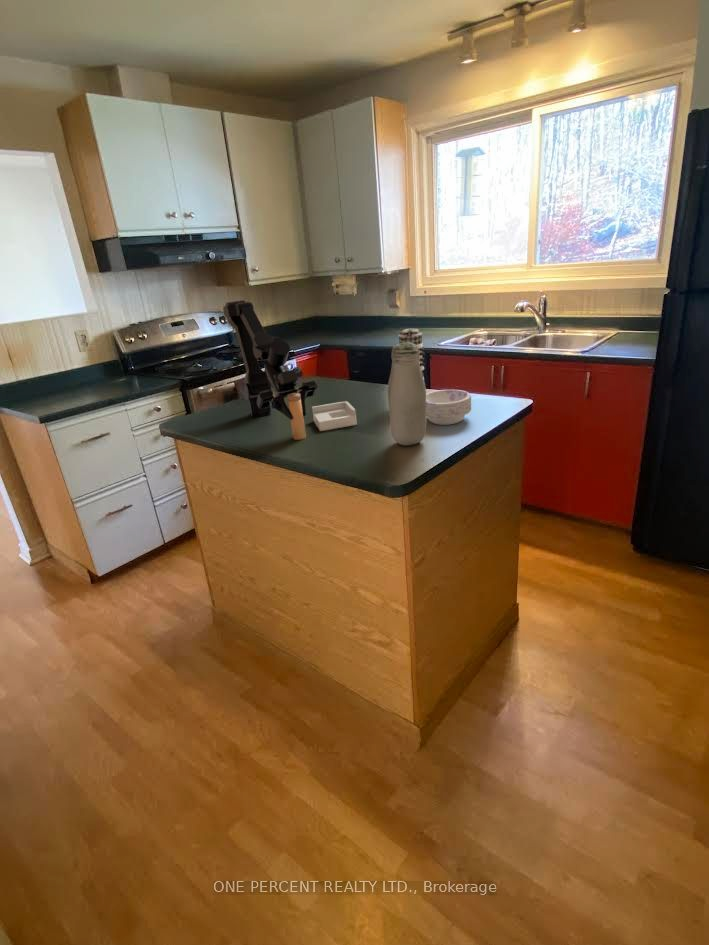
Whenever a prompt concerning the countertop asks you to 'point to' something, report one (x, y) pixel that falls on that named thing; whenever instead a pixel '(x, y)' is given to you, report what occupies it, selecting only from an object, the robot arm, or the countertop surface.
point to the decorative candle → (416, 338)
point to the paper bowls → (447, 406)
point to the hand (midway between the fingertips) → (298, 417)
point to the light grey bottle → (406, 395)
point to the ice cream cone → (296, 416)
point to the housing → (334, 415)
